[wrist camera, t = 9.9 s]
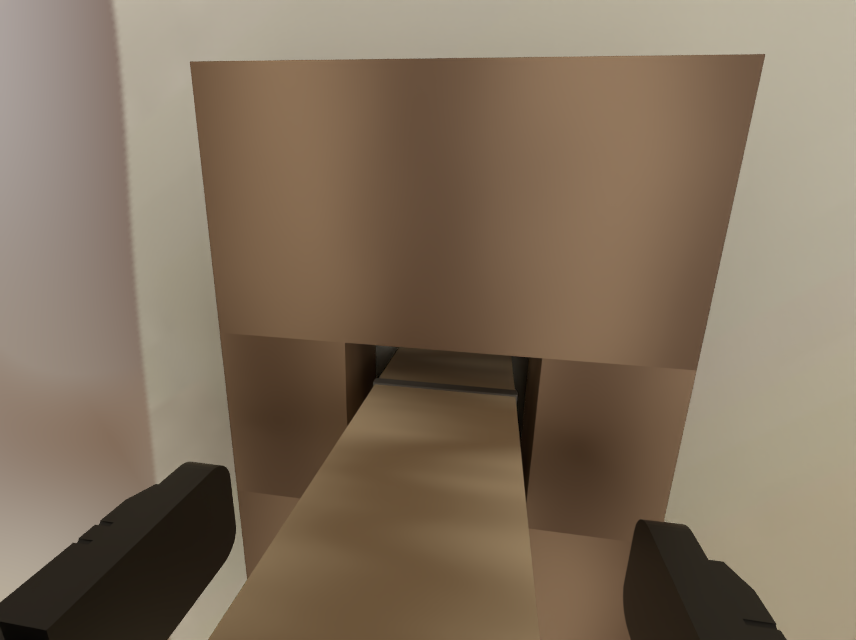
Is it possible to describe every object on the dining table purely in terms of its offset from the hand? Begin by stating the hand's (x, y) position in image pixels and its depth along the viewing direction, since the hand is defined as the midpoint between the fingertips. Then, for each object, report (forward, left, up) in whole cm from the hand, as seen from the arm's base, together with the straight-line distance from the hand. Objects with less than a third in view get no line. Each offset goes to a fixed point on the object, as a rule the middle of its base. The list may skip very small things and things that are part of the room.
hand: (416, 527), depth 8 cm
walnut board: (0, 0, -6) cm, 6 cm away
